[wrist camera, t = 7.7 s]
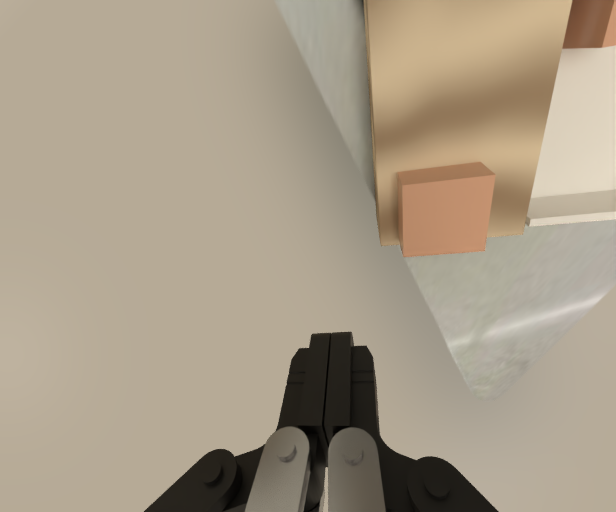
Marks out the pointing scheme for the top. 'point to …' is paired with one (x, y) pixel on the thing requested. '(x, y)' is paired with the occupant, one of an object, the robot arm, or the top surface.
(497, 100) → the platform
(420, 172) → the tile outer
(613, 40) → the tile inner
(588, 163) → the bin
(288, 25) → the top surface
